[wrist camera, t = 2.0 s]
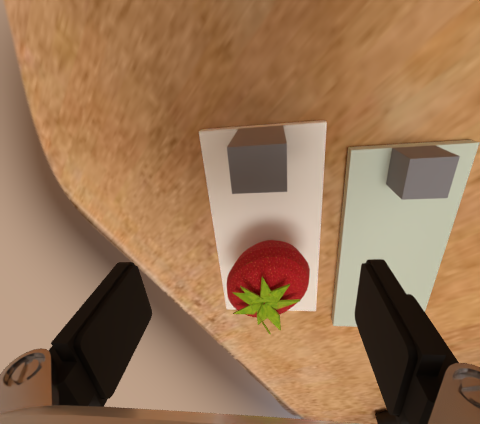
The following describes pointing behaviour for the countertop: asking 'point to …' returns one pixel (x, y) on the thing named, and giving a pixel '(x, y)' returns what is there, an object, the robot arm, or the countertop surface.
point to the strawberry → (268, 280)
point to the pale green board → (398, 215)
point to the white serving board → (266, 191)
